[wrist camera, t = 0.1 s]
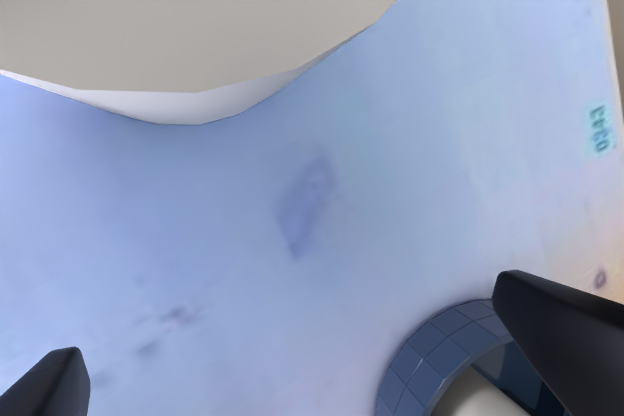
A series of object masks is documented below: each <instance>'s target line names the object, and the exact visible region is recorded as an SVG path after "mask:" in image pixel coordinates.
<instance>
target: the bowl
mask: <svg viewBox="0 0 624 416" xmlns="http://www.w3.org/2000/svg"><path fill="white" fill-rule="evenodd" d="M470 365H471V366H472V367H473V368H474V369H476V370H477V371H478V372H479V373H481V374H482V375H483V376H484V377H485V378H487V379H488V380H489V381H490V382H491V383H493V384H494V385H495V386H496V387H497V388H499V389H500V388H503V389H507V390H510V391H512V392H513V393H514V394H515V395H516V396H518V397H519V398H520V399H521V400H523V401H524V402H525V403H526V404H528V405H529V406H530V407H531V408H533V409H534V410H535V411H536V412H538V413H539V414H540V415H541V416H571V415H570V414H569V412H568V411H567V410H566V409H565V407H564V406H563V405H562V404H561V402H560V401H559V400H558V399H557V397H556V396H555V395H554V394H553V392H552V391H551V390H550V389H549V387H548V386H547V385H546V384H545V382H544V381H543V380H542V379H541V377H540V376H539V375H538V374H537V372H536V371H535V370H534V368H533V367H532V366H531V364H530V363H529V362H528V360H527V359H526V357H525V356H524V354H523V353H522V351H521V350H520V348H519V347H518V345H517V344H516V342H515V341H514V339H513V338H512V336H511V335H510V333H509V332H508V331H507V329H506V328H505V326H504V325H503V323H502V322H501V320H500V319H499V317H498V316H497V314H496V313H495V311H494V309H493V307H492V303H491V300H477V301H473V302H470V303H466V304H463V305H459V306H456V307H453V308H450V309H449V310H447V311H445V312H444V313H442V314H440V315H438V316H437V317H435V318H433V319H431V320H430V321H429V322H427V323H426V324H425V325H424V326H422V327H421V328H420V329H419V330H418V331H417V332H416V333H415V334H414V335H413V336H412V337H411V338H410V339H409V340H407V342H406V343H405V345H404V346H403V347H402V349H401V350H400V352H399V353H398V355H397V356H396V357H395V359H394V360H393V362H392V363H391V365H390V366H389V368H388V370H387V373H386V375H385V378H384V380H383V383H382V385H381V387H380V390H379V394H378V399H377V406H376V412H375V416H431V412H432V410H433V409H434V407H435V406H436V404H437V403H438V402H439V400H440V399H441V397H442V396H443V394H444V393H445V391H446V390H447V389H448V387H449V386H450V384H451V383H452V382H453V381H454V380H455V379H456V378H457V377H458V376H459V375H460V374H461V373H463V372H464V371H465V370H466V369H467V368H468V367H469V366H470Z"/></svg>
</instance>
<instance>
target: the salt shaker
mask: <svg viewBox="0 0 624 416" xmlns="http://www.w3.org/2000/svg"><path fill="white" fill-rule="evenodd" d="M431 416H531V415H530V414H529V413H528V412H526V411H525V410H524V409H523V408H522V407H520V406H519V405H518V404H517V403H516V402H514V401H513V400H512V399H511V398H510V397H508V396H507V395H506V394H505V393H503V392H502V391H501V390H500V389H499V388H497V387H496V386H495V385H494V384H493V383H491V382H490V381H489V380H488V379H487V378H485V377H484V376H483V375H482V374H481V373H479V372H478V371H477V370H476V369H474V368H473V367H472V366H471V365H470V366H469V367H468V368H467V369H466V370H465V371H464V372H463V373H461V374H460V375H459V376H458V377H457V378H456V379H455V380H454V381H453V382H452V383H451V384H450V386H449V387H448V389H447V390H446V391H445V393H444V394H443V396H442V397H441V399H440V400H439V402H438V403H437V404H436V406H435V407H434V409H433V410H432V412H431Z"/></svg>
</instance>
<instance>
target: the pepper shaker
mask: <svg viewBox="0 0 624 416" xmlns="http://www.w3.org/2000/svg"><path fill="white" fill-rule="evenodd" d="M500 390H501V391H502V392H503V393H505V394H506V395H507V396H508V397H510V398H511V399H512V400H513V401H514V402H516V403H517V404H518V405H519V406H520V407H522V408H523V409H524V410H525V411H526V412H528V413H529V414H530V415H531V416H541V415H540V414H539V413H538V412H536V411H535V410H534V409H533V408H531V407H530V406H529V405H528V404H526V403H525V402H524V401H523V400H521V399H520V398H519V397H518V396H516V395H515V394H514V393H513V392H512V391H510V390H507V389H503V388H500Z"/></svg>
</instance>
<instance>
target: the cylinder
mask: <svg viewBox="0 0 624 416" xmlns="http://www.w3.org/2000/svg"><path fill="white" fill-rule="evenodd" d="M395 1H396V0H0V74H1V75H4V76H7V77H10V78H13V79H16V80H19V81H21V82H24V83H27V84H30V85H33V86H36V87H39V88H42V89H45V90H48V91H51V92H53V93H56V94H59V95H62V96H65V97H68V98H71V99H74V100H77V101H80V102H82V103H85V104H88V105H91V106H94V107H97V108H100V109H103V110H106V111H109V112H112V113H115V114H119V115H123V116H127V117H131V118H135V119H139V120H142V121H146V122H150V123H154V124H192V125H201V124H204V123H208V122H212V121H216V120H220V119H223V118H227V117H231V116H235V115H239V114H241V113H242V112H244V111H246V110H248V109H249V108H251V107H253V106H254V105H256V104H258V103H259V102H261V101H263V100H265V99H266V98H268V97H270V96H271V95H273V94H274V93H276V92H277V91H279V90H280V89H282V88H283V87H284V86H286V85H287V84H289V83H290V82H292V81H293V80H294V79H296V78H297V77H299V76H300V75H301V74H303V73H304V72H306V71H307V70H309V69H310V68H311V67H313V66H314V65H316V64H317V63H319V62H320V61H321V60H323V59H324V58H326V57H327V56H328V55H330V54H331V53H333V52H334V51H336V50H337V49H338V48H340V47H341V46H343V45H344V44H346V43H347V42H348V41H350V40H351V39H353V38H354V37H356V36H357V35H358V34H360V33H361V32H363V31H364V30H365V29H367V28H368V27H370V26H371V25H373V24H374V23H375V22H376V21H377V20H378V19H379V18H380V17H381V16H382V15H383V14H384V13H385V12H386V11H387V10H388V9H389V8H390V7H391V5H392V4H393V3H394V2H395Z"/></svg>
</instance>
